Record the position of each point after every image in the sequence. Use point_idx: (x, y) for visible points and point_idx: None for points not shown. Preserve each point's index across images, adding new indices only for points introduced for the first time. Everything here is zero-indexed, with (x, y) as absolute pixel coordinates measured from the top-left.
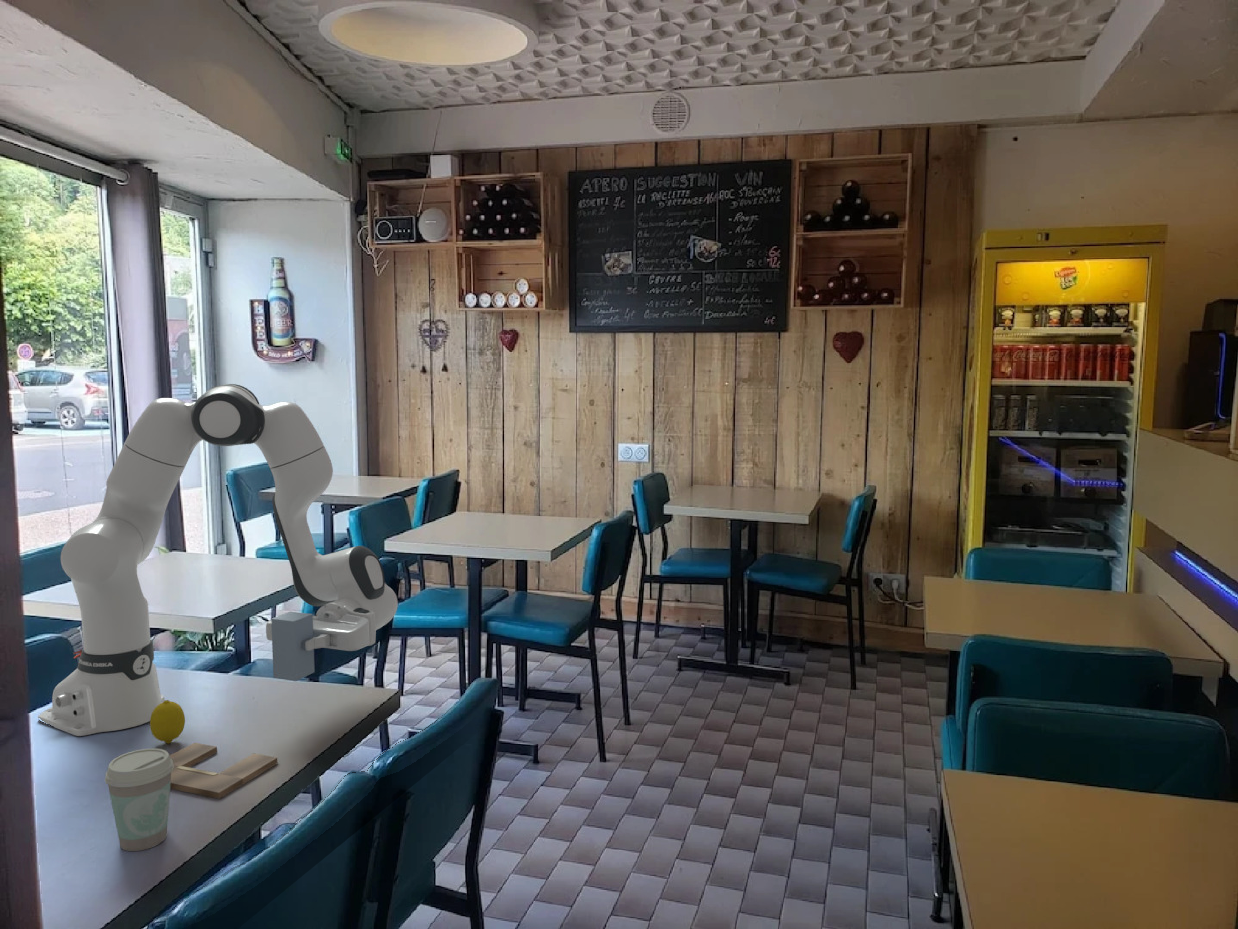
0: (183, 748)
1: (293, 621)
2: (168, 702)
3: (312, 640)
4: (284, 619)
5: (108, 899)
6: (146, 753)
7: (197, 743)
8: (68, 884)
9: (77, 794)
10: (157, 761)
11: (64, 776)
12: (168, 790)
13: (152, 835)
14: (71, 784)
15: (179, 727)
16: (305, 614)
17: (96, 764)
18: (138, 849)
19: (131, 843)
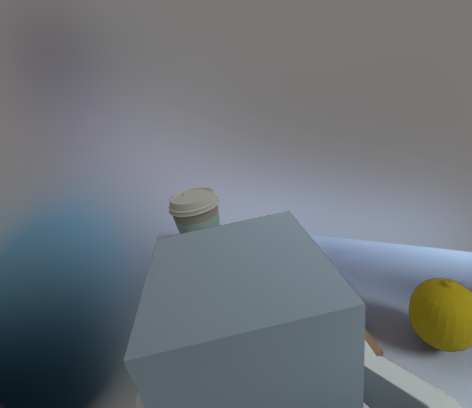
0: (367, 331)
1: (161, 238)
2: (443, 284)
3: (136, 406)
4: (223, 229)
5: (171, 233)
6: (198, 199)
7: (374, 351)
8: None
9: (333, 250)
10: (180, 202)
11: (391, 252)
12: (178, 228)
13: None
14: (363, 252)
15: (415, 325)
16: (177, 321)
17: (408, 273)
18: None
19: None
